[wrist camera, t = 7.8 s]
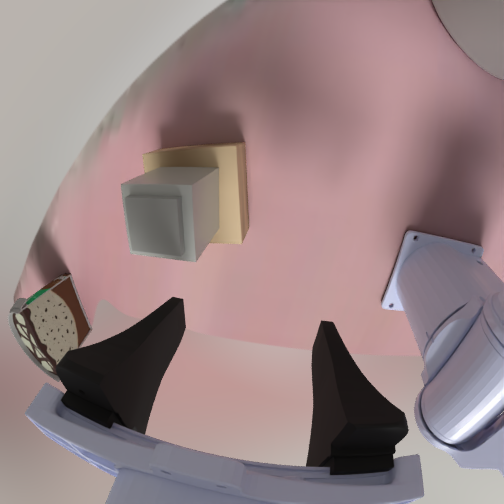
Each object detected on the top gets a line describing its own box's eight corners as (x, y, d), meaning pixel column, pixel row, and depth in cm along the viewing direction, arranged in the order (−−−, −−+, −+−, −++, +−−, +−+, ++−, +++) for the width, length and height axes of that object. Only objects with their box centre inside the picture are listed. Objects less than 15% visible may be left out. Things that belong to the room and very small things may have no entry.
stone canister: (219, 167, 18) (187, 188, 13) (219, 228, 20) (192, 267, 15) (160, 166, 18) (115, 187, 13) (164, 223, 20) (125, 258, 15)
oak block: (245, 141, 20) (236, 146, 17) (249, 226, 23) (241, 244, 20) (163, 148, 21) (142, 154, 18) (173, 225, 24) (156, 241, 21)
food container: (40, 259, 30) (-7, 298, 21) (67, 263, 29) (15, 309, 20) (68, 327, 35) (33, 369, 26) (95, 336, 34) (60, 384, 26)
